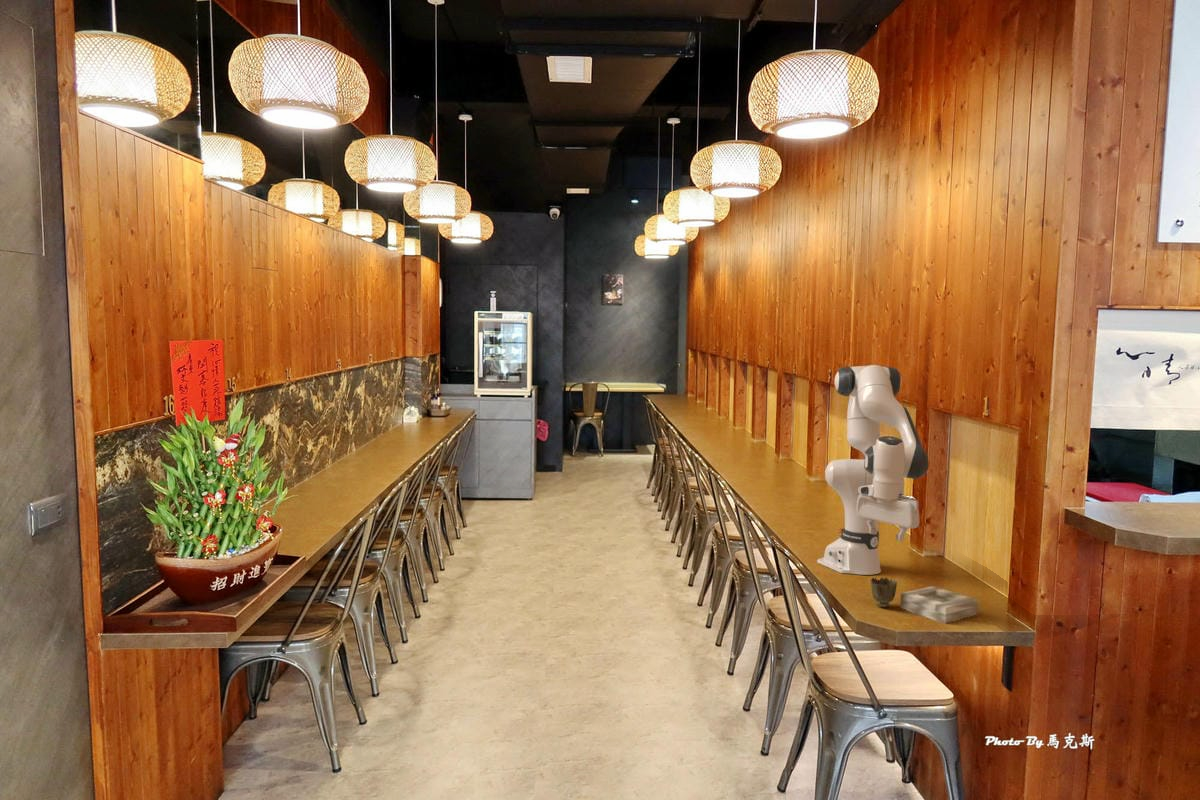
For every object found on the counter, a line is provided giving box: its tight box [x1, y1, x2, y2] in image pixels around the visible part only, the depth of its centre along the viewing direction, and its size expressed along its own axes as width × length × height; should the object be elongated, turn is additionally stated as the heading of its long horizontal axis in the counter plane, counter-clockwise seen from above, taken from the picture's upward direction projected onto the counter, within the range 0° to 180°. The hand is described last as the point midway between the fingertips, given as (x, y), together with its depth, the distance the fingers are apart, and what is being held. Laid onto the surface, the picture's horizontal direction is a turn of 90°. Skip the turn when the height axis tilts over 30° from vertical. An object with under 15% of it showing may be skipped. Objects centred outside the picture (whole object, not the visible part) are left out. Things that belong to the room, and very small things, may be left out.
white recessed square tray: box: [899, 585, 979, 624], centre depth 232 cm, size 15×15×5 cm
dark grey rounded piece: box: [870, 577, 898, 609], centre depth 236 cm, size 8×7×8 cm
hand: (886, 537), depth 235 cm, fingers open, 8 cm apart
